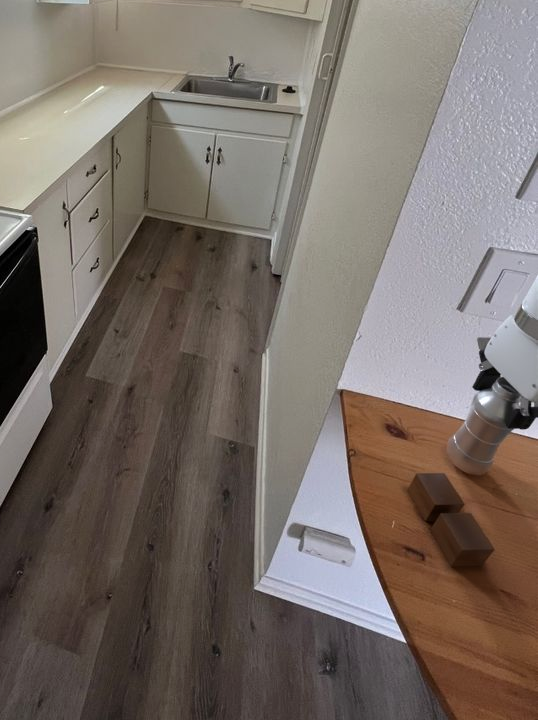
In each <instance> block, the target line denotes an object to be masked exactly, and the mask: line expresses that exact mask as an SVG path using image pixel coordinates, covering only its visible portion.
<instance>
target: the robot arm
mask: <svg viewBox="0 0 538 720" xmlns="http://www.w3.org/2000/svg"><path fill="white" fill-rule="evenodd" d="M476 341H477V346H478V349H479V351H478V356H479V360H480V363H479V364H478V368H479V370H480V371H479V373H478V375H477V377H476V379H475V381H474V382H473V385H472V386H471V388H472V389H473V390H474V391H476V392H479V391H481V390H484V389H489V388H492V385H493V384H494V383H495V382H496V380H497V379H498V378H499V377H504V378H505V379H506V380H507V381H508V382H509V383H510V384H511V385H512V386H513V387H514V388H515V389H516V390H517V391H518V392H519V393H520V394H521V402H520V403H519V405H520V408H517V409H514V411H513V412H512V414H511V415H510V417H509V418H508V420H507V421H506V423H505V424H506V426H507V428H508V429H514V430H521V431H523V430H528V429H529V428H530V427H531V426H532V424H533V423H534V421H535V420H536V419H538V275H537V276H536V277H535V279H534V281H533V282H532V285H531V286H530V288H529V290H528V292H527V294H526V295H525V296H524V299H523V300H522V302H521V304H520V305H519V307H518V309H517V311H516V312H513V313H512V314H510V315H509V316H508V317H507V318H506V319H504V321H503V322H502V323H501V324H500V325H499V326H498V328H497V329H496V330H495V331H494V333H493V334H492V336H491V337H490V336H489V337H488V336H487V337H483V336H482V337H479V336H478V337H477V338H476ZM532 403H533V406H532Z"/></svg>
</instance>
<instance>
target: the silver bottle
mask: <svg viewBox="0 0 538 720" xmlns="http://www.w3.org/2000/svg"><path fill="white" fill-rule="evenodd" d="M472 397H473V398H472V401H471V403H470V408H469V411H468V413H467V415H466V418H465V420H464V422H463V423H462V425H460V428H459V429H458V430H457V431H456V432H454V433H453V435H452V436H450V438H449V439H448V441H447V445H446V453H447V456H448V458H449V460H450V461H451V463H452V464H453V465H454V466H455V467H456V468H457V469H459V470H460V471H462V472H463V473H466V474H469V475H474V476H481V475H484V474H486V473H488V471H490V469H491V468H492V466H493V464H494V461H495V456H496V454H497V451H498V449H499V447H500V445H501V444H502V443H503V441H504V440H505V439H506V438H507V437H508V436H509V435H510V433H512V432H513V431H514V430H515V429H508V428H507V426H506V424H505V423H506V421H507V420H508V418H509V417H510V415H511V414H512V412H513V411H514V409H517V408H520V403H521V394H520V393H519V392H518V391H517V390H516V389H515V388H514V387H513V386H512V385H511V384H510V383H509V382H508V381H507V380H506V379H505V378H504V377H503V376H501V377H499V378H498V379H497V380H496V382H495V383H494V384H493V385H492V388H489V389H484V390H481V391H477V392H476V393H475V394H474V395H473V396H472Z"/></svg>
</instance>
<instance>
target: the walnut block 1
mask: <svg viewBox="0 0 538 720" xmlns="http://www.w3.org/2000/svg"><path fill="white" fill-rule="evenodd" d="M406 490H407V493H408V494H409V495H410V496H409V497H411V499H412V501H413V503H414V505H415V506H416V509H417V510H418V512H419V514H420V515H421V517H422V520H423V521H424V522H436V520H437V518H438V517H439V515H440V514H441V513H461V511H462V510H463V508H464V507H465V505H466V503H465V502H464V500H463V498H462V497H461V496H460V494H459V493H458V491H457V490H456V488H455V487H454V485H453V484H452V482H451V480H450V479H449V478H448V477H447V475H446V473H445V472H420V473H416V474H415V475H414V477H413V479H412V480H411V482H410V484H409V486H408V487H407V489H406Z"/></svg>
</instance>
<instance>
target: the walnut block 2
mask: <svg viewBox="0 0 538 720" xmlns="http://www.w3.org/2000/svg"><path fill="white" fill-rule="evenodd" d="M429 531H430V533H431V535H432V536H433V538H434V540H435V542H436V544H437V545H438V547H439V549H440V550H441V552H442V554H443V555H444V558H445V559H446V561H447V563H448V565H449V566H450V567H482V566H483V565H484V564H485V562H486V561H487V560H488V559H489V558H490V557H491V555H492V554H493V552H494V551H496V549H495V547H494V545H493V544H492V543H491V541H490V539H489V538H488V536H487V535H486V533H485V532H484V530H483V529H482V528H481V526H480V525H479V523H478V521H477V520H476V519H475V517H474V515H473V514H472V513H471V512H459V513H441V514H440V515H439V517H438V518H437V520H436V521H434V523H433V524H432V526H431V528H430V530H429Z"/></svg>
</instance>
